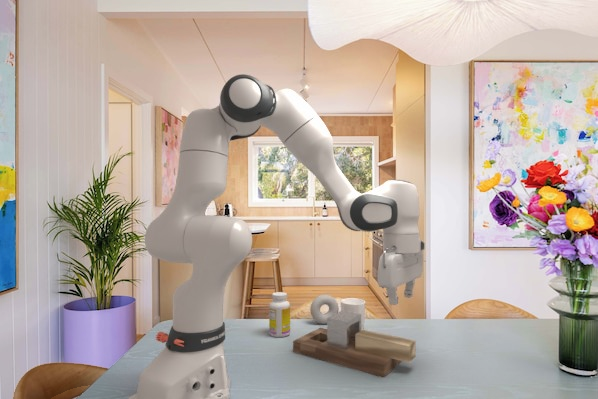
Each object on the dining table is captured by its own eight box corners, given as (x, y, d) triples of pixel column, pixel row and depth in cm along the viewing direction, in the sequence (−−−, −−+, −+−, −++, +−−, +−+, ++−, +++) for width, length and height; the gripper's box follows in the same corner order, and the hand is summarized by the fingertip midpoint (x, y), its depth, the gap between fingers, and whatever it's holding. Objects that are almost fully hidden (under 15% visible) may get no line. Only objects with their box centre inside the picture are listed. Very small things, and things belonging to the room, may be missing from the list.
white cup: (360, 338, 118) (360, 305, 118) (336, 333, 122) (336, 302, 122) (368, 330, 125) (368, 299, 125) (346, 326, 129) (346, 296, 129)
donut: (336, 321, 135) (336, 292, 135) (340, 324, 131) (339, 294, 132) (309, 323, 133) (309, 294, 133) (311, 326, 129) (311, 296, 129)
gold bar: (409, 362, 93) (409, 346, 93) (355, 349, 101) (355, 334, 101) (415, 356, 96) (415, 340, 97) (363, 344, 105) (363, 329, 105)
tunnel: (346, 350, 101) (346, 321, 101) (327, 345, 104) (327, 317, 104) (361, 340, 108) (361, 314, 108) (342, 336, 111) (342, 310, 111)
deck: (383, 377, 92) (383, 365, 92) (293, 351, 108) (293, 341, 108) (405, 358, 103) (405, 346, 103) (320, 337, 119) (320, 327, 119)
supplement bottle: (291, 331, 125) (291, 291, 125) (289, 338, 118) (288, 296, 118) (271, 330, 126) (271, 291, 126) (267, 337, 119) (267, 296, 119)
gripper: (396, 249, 86) (396, 311, 85) (427, 242, 102) (427, 295, 102) (370, 247, 90) (370, 307, 89) (404, 241, 106) (404, 292, 106)
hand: (401, 300), depth 96 cm, fingers open, 8 cm apart
